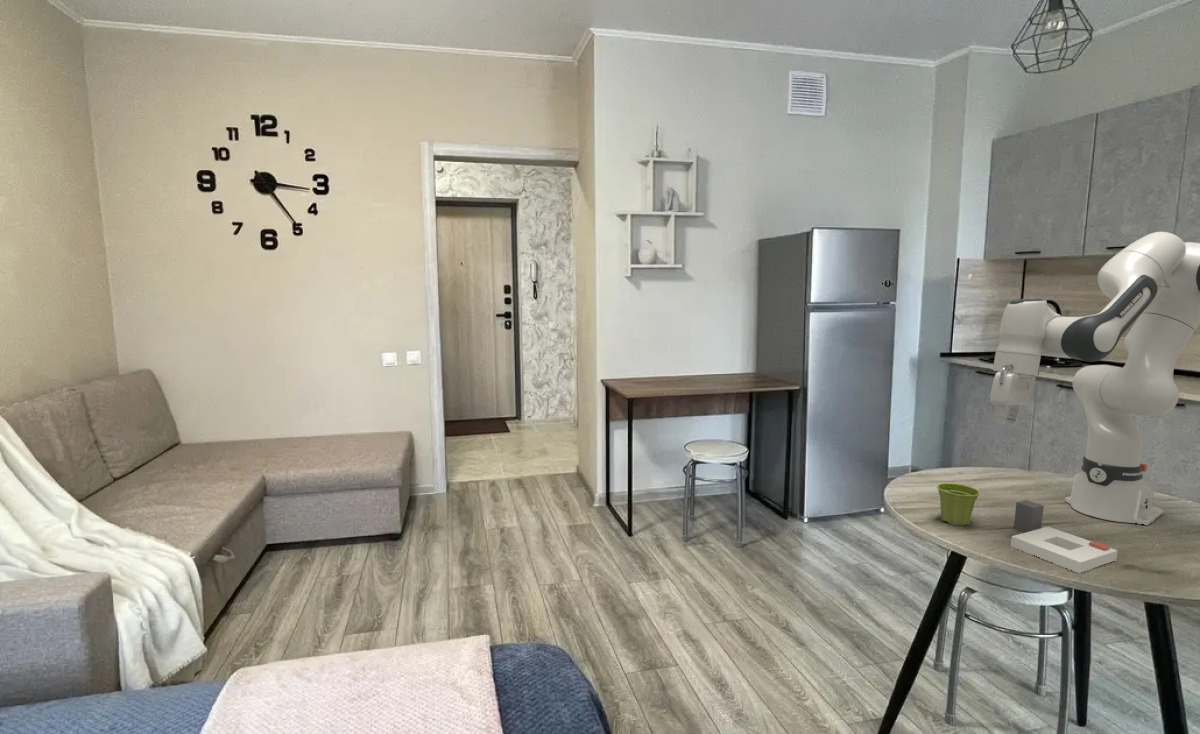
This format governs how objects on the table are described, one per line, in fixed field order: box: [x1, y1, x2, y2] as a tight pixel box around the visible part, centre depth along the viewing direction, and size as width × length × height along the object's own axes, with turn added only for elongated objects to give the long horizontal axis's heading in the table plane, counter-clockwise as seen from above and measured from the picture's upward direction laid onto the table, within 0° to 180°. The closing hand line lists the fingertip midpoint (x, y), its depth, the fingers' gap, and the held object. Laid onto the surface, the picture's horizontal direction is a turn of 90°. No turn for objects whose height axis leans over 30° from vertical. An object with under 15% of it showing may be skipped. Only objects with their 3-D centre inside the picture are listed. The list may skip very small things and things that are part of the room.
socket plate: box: [1010, 526, 1118, 574], centre depth 135 cm, size 14×14×3 cm
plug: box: [1012, 499, 1045, 533], centre depth 147 cm, size 4×4×7 cm
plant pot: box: [936, 482, 981, 527], centre depth 152 cm, size 9×9×9 cm
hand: (1005, 423), depth 143 cm, fingers open, 8 cm apart
